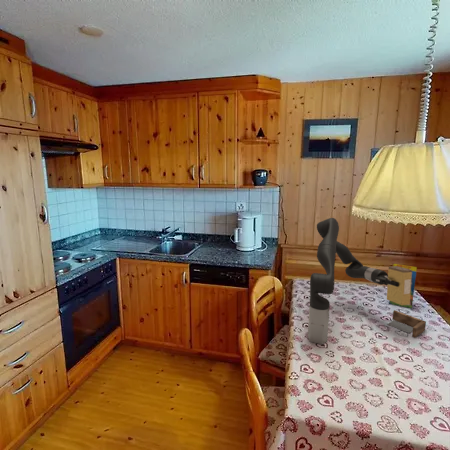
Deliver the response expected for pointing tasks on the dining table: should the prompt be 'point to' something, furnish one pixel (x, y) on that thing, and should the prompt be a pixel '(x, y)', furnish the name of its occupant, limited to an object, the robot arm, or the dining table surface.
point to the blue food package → (411, 285)
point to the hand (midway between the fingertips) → (402, 284)
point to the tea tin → (404, 289)
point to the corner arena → (410, 322)
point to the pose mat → (401, 326)
